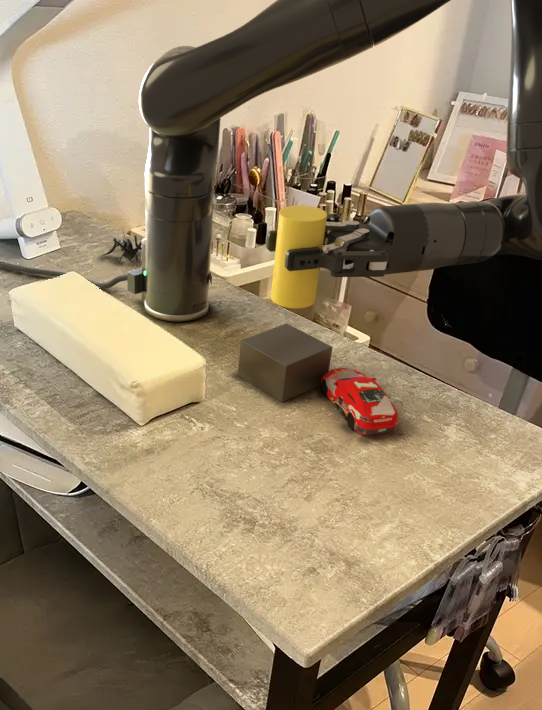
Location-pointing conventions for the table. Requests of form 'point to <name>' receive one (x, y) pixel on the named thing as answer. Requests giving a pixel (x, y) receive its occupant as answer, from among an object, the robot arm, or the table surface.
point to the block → (284, 361)
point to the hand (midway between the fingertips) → (277, 250)
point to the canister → (295, 232)
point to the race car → (360, 401)
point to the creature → (126, 248)
